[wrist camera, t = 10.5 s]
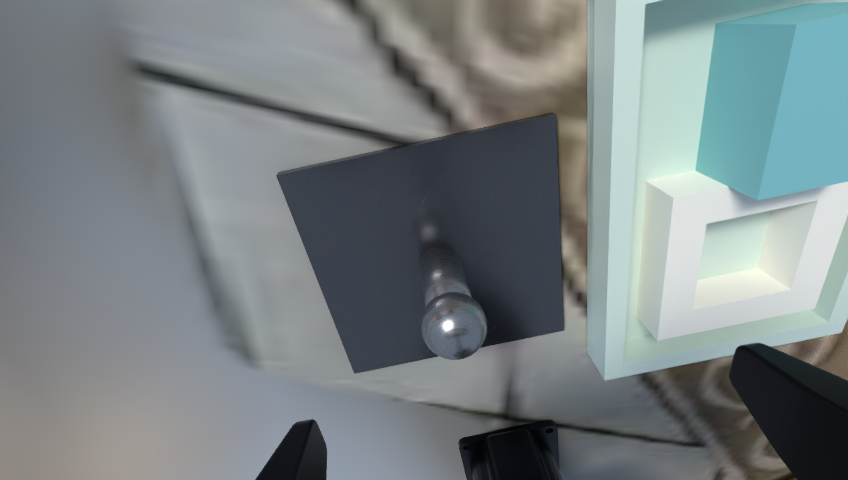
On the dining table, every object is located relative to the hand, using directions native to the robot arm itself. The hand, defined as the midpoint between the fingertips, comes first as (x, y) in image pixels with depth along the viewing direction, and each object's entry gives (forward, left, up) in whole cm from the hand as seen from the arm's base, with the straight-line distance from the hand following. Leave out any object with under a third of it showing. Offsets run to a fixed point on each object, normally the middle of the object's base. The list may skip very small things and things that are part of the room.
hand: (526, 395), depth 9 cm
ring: (-2, -13, -11) cm, 17 cm away
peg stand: (-3, +1, -11) cm, 12 cm away
